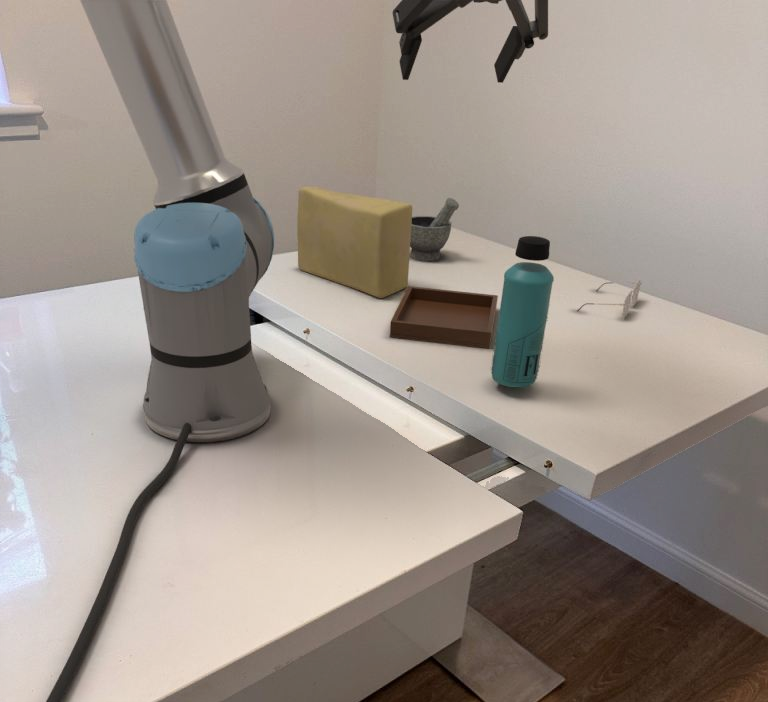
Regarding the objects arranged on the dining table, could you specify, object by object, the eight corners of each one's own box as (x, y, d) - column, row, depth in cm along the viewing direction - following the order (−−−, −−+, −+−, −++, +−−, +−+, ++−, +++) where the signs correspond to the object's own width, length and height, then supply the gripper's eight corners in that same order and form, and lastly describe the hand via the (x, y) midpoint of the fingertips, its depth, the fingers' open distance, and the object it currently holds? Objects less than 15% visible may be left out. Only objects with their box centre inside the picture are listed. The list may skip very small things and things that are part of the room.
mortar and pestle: (393, 257, 147) (396, 195, 140) (414, 247, 154) (418, 187, 147) (443, 267, 143) (448, 203, 136) (462, 256, 150) (468, 195, 143)
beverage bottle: (521, 402, 96) (547, 249, 84) (478, 388, 99) (498, 238, 87) (543, 387, 100) (571, 238, 88) (502, 373, 103) (524, 228, 92)
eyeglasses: (621, 321, 123) (625, 298, 120) (575, 315, 126) (578, 292, 124) (639, 299, 133) (642, 277, 130) (595, 293, 136) (598, 272, 134)
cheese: (283, 274, 135) (280, 189, 126) (315, 262, 142) (314, 181, 133) (380, 301, 126) (384, 210, 117) (409, 287, 132) (415, 200, 124)
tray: (489, 348, 110) (491, 332, 109) (389, 337, 112) (390, 321, 111) (495, 310, 125) (498, 295, 123) (407, 300, 127) (408, 285, 125)
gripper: (410, -59, 72) (366, 95, 93) (626, -41, 79) (541, 99, 99) (398, -122, 73) (357, 43, 94) (612, -100, 80) (530, 50, 100)
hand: (451, 72), depth 96 cm, fingers open, 13 cm apart
